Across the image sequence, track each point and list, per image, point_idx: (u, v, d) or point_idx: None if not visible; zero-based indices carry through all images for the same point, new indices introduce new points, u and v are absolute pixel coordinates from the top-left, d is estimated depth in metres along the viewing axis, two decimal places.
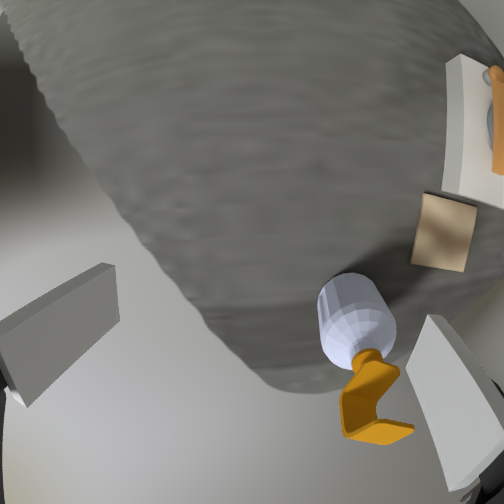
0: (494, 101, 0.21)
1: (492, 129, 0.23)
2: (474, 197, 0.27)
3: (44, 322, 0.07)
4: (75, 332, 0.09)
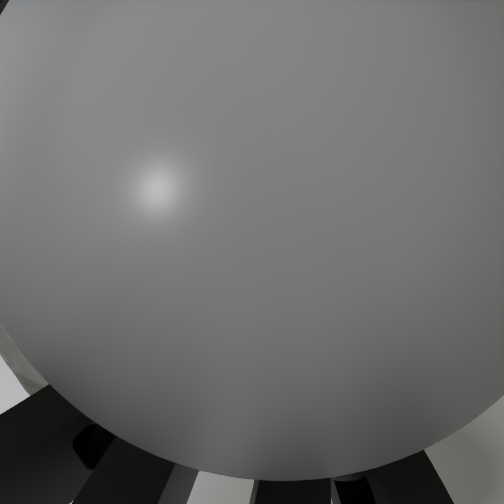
0: None
1: None
2: None
3: None
4: None
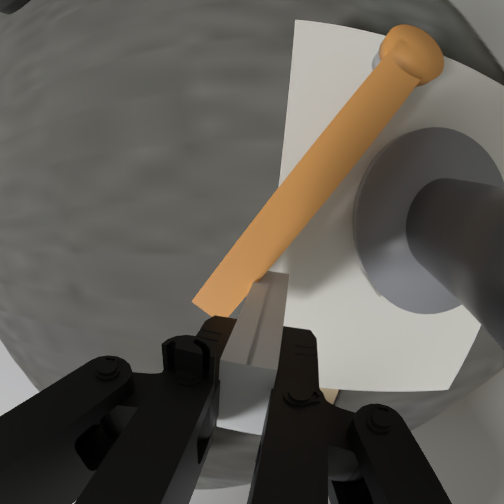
0: None
1: (360, 216, 0.11)
2: None
3: None
4: None
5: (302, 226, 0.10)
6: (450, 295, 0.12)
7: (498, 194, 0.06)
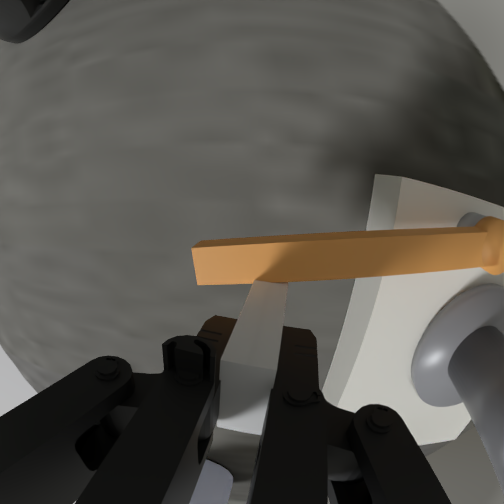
0: (422, 230, 0.10)
1: (421, 360, 0.13)
2: None
3: None
4: None
5: (328, 278, 0.11)
6: None
7: None
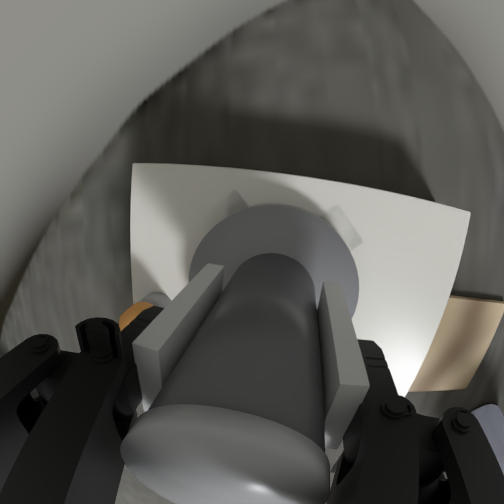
0: None
1: None
2: (416, 371, 0.16)
3: (187, 325, 0.08)
4: None
5: None
6: (341, 277, 0.14)
7: None
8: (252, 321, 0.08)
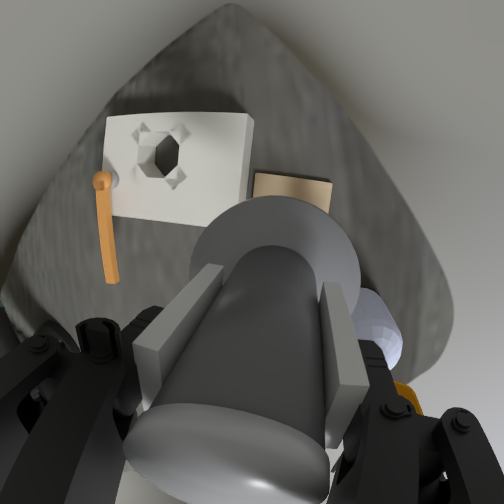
0: None
1: None
2: None
3: (187, 325, 0.08)
4: None
5: (109, 246, 0.34)
6: (342, 270, 0.14)
7: None
8: (253, 317, 0.08)
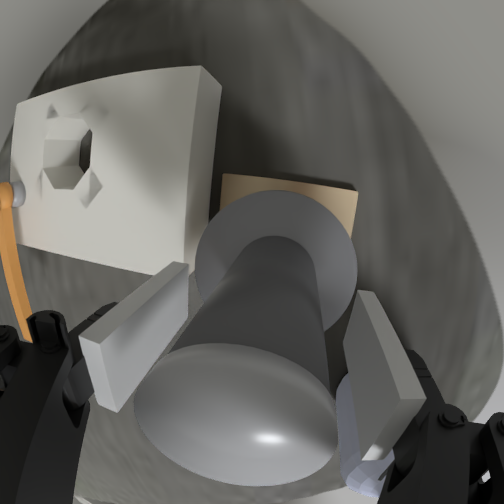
0: None
1: None
2: (182, 238, 0.18)
3: (138, 321, 0.08)
4: (159, 330, 0.10)
5: (16, 292, 0.19)
6: (340, 259, 0.14)
7: None
8: (259, 284, 0.08)
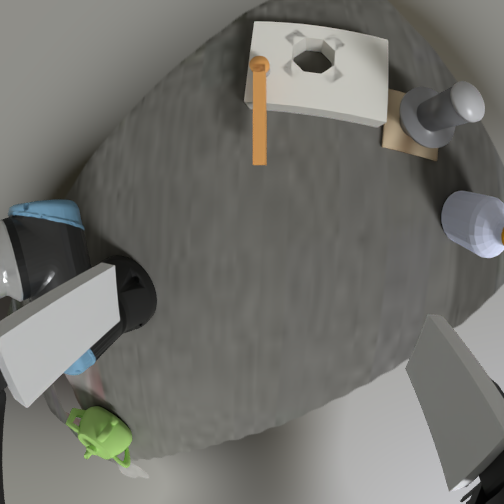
0: None
1: (429, 146, 0.31)
2: (386, 103, 0.32)
3: (44, 322, 0.07)
4: (75, 332, 0.09)
5: (265, 123, 0.33)
6: None
7: (434, 114, 0.26)
8: None
